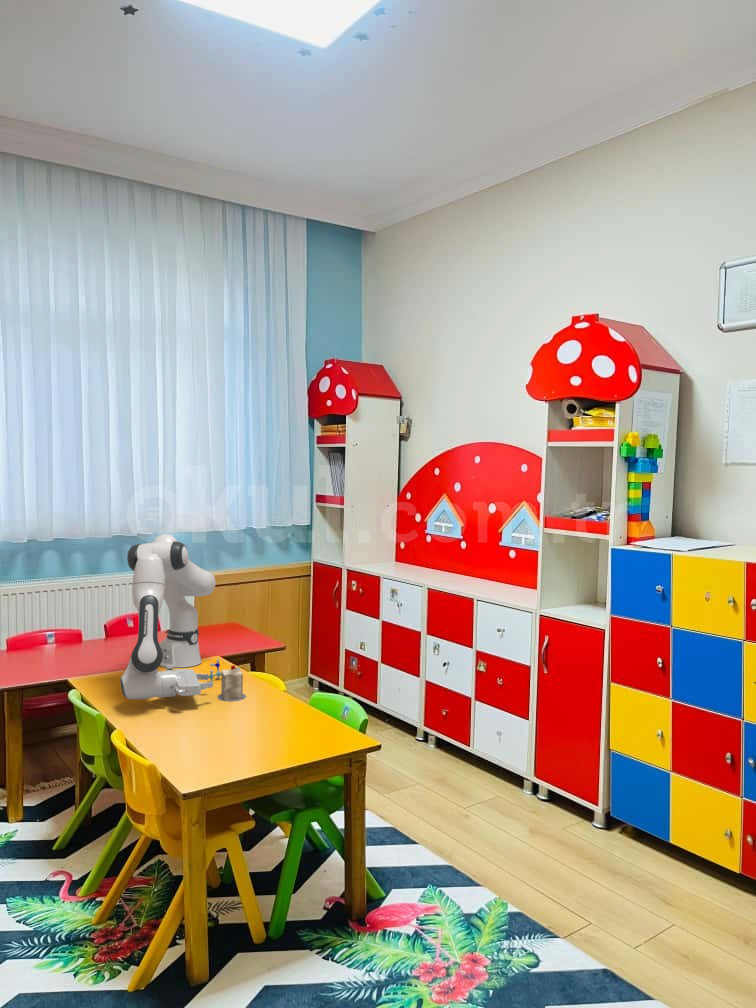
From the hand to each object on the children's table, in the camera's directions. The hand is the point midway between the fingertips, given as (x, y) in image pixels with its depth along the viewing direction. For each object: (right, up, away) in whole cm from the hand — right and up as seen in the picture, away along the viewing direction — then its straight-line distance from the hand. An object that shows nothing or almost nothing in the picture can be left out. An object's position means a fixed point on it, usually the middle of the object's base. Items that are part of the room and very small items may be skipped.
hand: (210, 680), depth 275 cm
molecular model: (-1, -6, +23) cm, 24 cm away
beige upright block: (+7, -7, +3) cm, 10 cm away
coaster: (+7, -7, +3) cm, 10 cm away
